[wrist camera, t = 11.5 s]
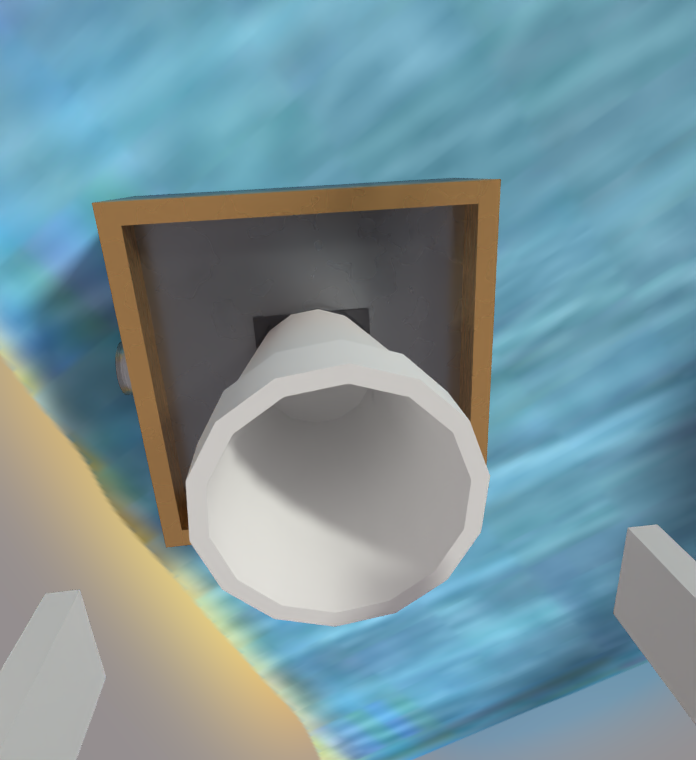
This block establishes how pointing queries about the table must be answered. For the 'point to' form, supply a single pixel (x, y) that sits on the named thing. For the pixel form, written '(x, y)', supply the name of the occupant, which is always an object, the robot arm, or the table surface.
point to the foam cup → (334, 478)
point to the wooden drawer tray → (292, 294)
